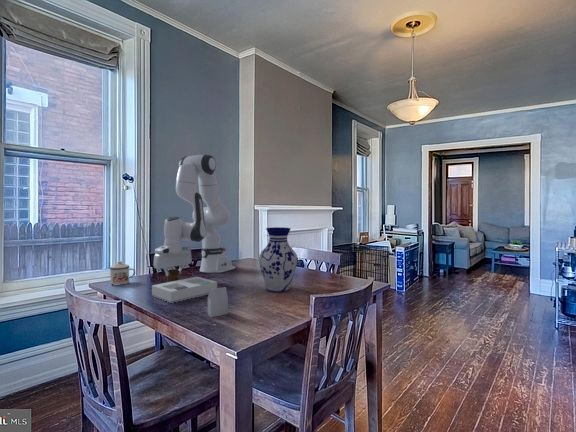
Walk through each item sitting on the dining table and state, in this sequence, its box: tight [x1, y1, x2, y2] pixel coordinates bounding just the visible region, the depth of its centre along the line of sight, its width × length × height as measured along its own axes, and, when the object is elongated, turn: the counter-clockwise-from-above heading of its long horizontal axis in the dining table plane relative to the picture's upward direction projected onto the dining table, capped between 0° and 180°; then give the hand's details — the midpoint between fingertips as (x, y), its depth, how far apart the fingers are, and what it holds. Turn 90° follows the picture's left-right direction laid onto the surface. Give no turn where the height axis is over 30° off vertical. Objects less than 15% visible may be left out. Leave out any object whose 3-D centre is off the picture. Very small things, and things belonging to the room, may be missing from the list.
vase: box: [258, 226, 299, 293], centre depth 166 cm, size 19×19×30 cm
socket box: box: [151, 276, 218, 304], centre depth 156 cm, size 24×16×5 cm, turn 139°
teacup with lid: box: [109, 260, 136, 285], centre depth 176 cm, size 12×9×12 cm
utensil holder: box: [166, 263, 180, 282], centre depth 176 cm, size 6×6×12 cm
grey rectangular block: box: [207, 286, 229, 318], centre depth 130 cm, size 4×7×10 cm, turn 124°
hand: (173, 274), depth 176 cm, fingers closed on utensil holder, 5 cm apart
